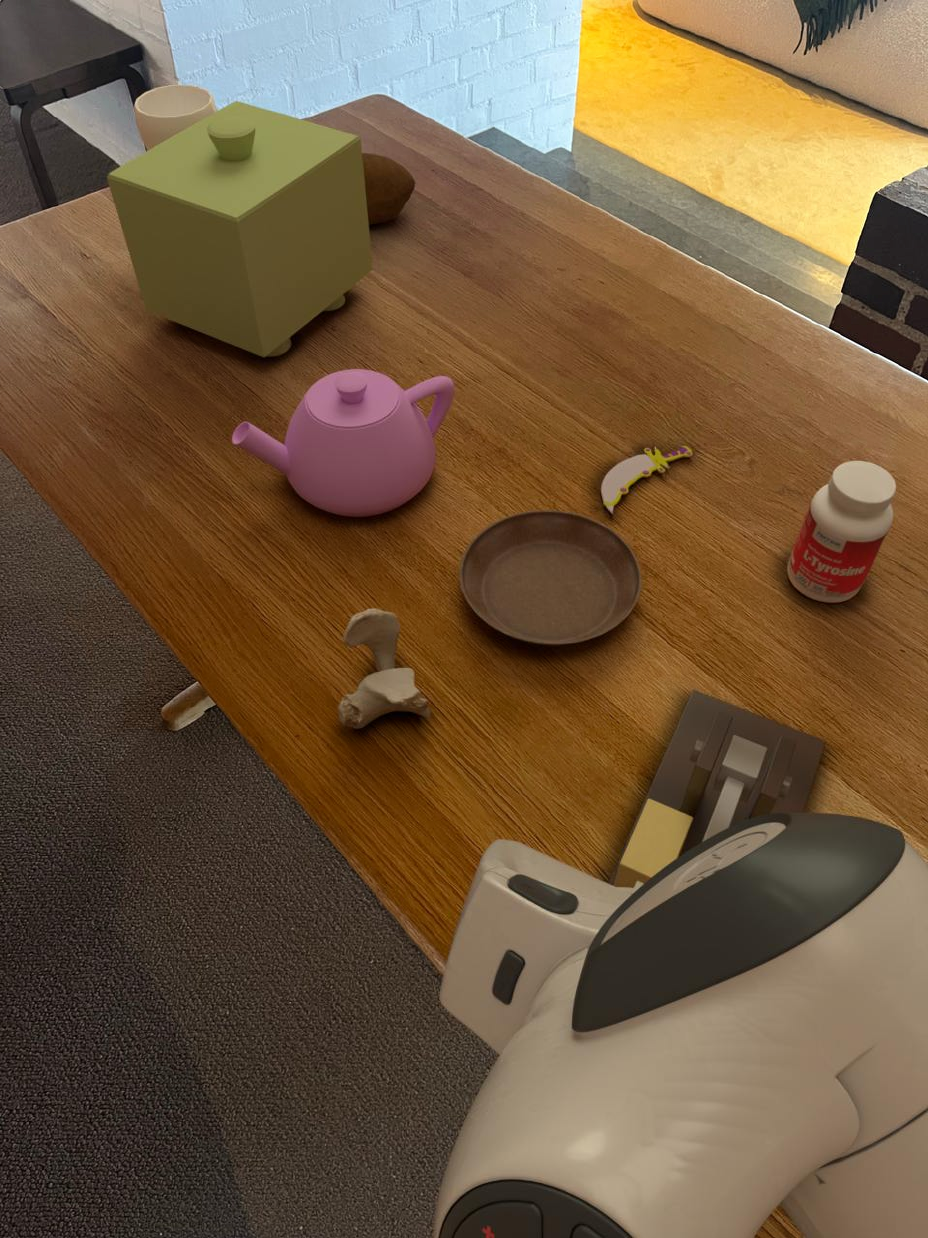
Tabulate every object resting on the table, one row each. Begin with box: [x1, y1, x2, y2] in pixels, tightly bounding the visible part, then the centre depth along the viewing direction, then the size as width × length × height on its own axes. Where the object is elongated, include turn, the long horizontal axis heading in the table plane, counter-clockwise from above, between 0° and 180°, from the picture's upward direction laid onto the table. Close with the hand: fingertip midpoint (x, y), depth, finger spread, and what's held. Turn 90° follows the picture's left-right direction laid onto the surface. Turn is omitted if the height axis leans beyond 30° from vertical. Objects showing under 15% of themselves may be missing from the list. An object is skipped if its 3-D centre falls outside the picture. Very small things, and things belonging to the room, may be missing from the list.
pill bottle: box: [786, 460, 897, 604], centre depth 76 cm, size 6×6×11 cm
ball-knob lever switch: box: [702, 735, 768, 842], centre depth 55 cm, size 15×3×3 cm, turn 153°
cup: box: [133, 84, 218, 151], centre depth 110 cm, size 9×9×16 cm
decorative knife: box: [600, 445, 693, 515], centre depth 89 cm, size 12×1×5 cm
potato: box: [362, 152, 416, 226], centre depth 116 cm, size 8×12×8 cm, turn 114°
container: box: [106, 100, 373, 358], centre depth 99 cm, size 19×16×20 cm
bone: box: [337, 608, 431, 730], centre depth 70 cm, size 9×6×10 cm
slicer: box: [607, 689, 827, 886], centre depth 62 cm, size 20×10×11 cm, turn 153°
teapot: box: [231, 368, 455, 518], centre depth 85 cm, size 14×20×11 cm
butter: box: [614, 799, 693, 888], centre depth 60 cm, size 9×5×5 cm, turn 63°
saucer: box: [458, 509, 643, 647], centre depth 79 cm, size 15×15×3 cm
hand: (683, 916), depth 52 cm, fingers closed on ball-knob lever switch, 3 cm apart
